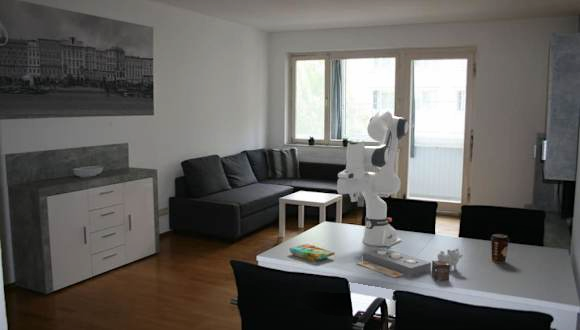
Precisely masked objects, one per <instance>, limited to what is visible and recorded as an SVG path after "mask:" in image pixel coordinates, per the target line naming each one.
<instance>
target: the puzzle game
mask: <svg viewBox="0 0 580 330" xmlns="http://www.w3.org/2000/svg"><path fill="white" fill-rule="evenodd" d="M289 252H290V253H291V254H292V255H293V256H295V257H298V258H302V259H305V260H308V261H311V262H317V261H322V260H324V259H328V257H331V256H334V255H335V251H333V250H329V249H325V248H323V247H318V246H315V245H314V244H309V243H305V244H301V245H295V246H293V247H290V248H289Z"/></svg>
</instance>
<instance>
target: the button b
mask: <svg viewBox="0 0 580 330" xmlns="http://www.w3.org/2000/svg"><path fill="white" fill-rule="evenodd" d="M399 253H400V252H398V253H391V258H393V259H400V258H401V254H399Z"/></svg>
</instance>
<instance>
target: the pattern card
mask: <svg viewBox="0 0 580 330" xmlns="http://www.w3.org/2000/svg"><path fill="white" fill-rule="evenodd" d="M356 265H358V266H361V267H364V268H366V269H370V270H371V269H372V271H373V272H374V271H375V272H377V273H380V274H383V275H386V276H388V277H391V278H393V279H397V278H399V277H404V276H405V275H404V274H402V273H399V272H396V271H394V270H391V269H388V268H385V267H382V266H379V265H376V264H373V263H371V262H368V261H364V260H362V261H360V262H356Z"/></svg>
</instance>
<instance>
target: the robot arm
mask: <svg viewBox="0 0 580 330" xmlns="http://www.w3.org/2000/svg"><path fill="white" fill-rule="evenodd" d="M409 128H410V127H409V121H408V119H407V118H405V117H403V116H402V117H398V116H396V115H395V116H394V115H392V113H391V112H390V111H389V110H386V109H382V110H379V111H378V112H377V113H375V114H374V116H372V117H370V119H369V122H368V125H367V129H366V130H367V134H368V136H369V137H370V138H371V139H372V140H374V141H375V142H378V145H377V146H372V145H371V146H369V145H365V143H364V140H362V139H351V140H349V141H348V142H347V147H346V154H345V155H346V156H345V159H346V166H345V169H344V170H342V171H340V172H338V174H337V181H336V183H337V184H336V191H337V193H338V195H339V194H340V195H349V197H350V202H352V203H354V202H358V200H359V199H358V198H359V196H360V194H361V195H363V198H364V200H365V208H366V209H365V210H366V211H365V212H366V215H365V218H364V220H365V222H364V223H365V226H364V231H363V237H362V243H364V244H366V245H368V246H369V245H370V246H379V247H380V246H381V247H382V246H383V247H390V246H393V245H395V244H398V243H400V242H401V241H402V239H401V238H399V237H398V234H397V230H396V229H395V228H394V227H393V226H391V224H389V223H390V222H392V221H393V219H392V217H387V210H388V206H387V202H386V201H384V200H383V199H382V198H381V197H380V195H379V194H383V195H384V194H385V195H390V194H397V193H398V192H399V191H400V189H401V185H402V183H401V179H400V177H399V176H398V175H397V174H396V173H395V168H394V165H395V159H396V156H397V153H398V146H399V140H401V139H402V138H404V137H405V136H406V135H407V133H408V131H409ZM365 166H370V167H376V168H377V169H378V170H379V172H373V171H365Z"/></svg>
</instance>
